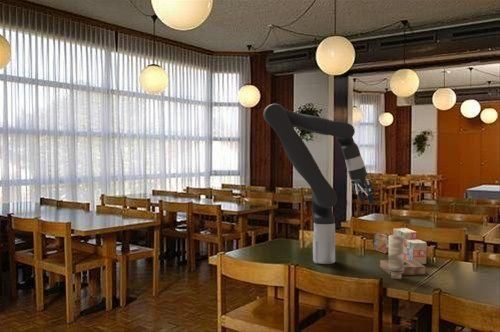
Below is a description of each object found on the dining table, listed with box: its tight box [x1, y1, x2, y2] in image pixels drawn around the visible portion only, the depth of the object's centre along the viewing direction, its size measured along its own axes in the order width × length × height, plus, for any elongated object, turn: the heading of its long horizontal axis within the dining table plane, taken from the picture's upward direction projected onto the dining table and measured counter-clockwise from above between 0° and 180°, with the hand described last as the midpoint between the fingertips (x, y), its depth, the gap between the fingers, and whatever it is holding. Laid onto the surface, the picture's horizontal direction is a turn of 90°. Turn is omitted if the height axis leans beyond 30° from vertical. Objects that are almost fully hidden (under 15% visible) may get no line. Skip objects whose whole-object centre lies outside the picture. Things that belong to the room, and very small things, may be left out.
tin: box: [372, 232, 389, 254], centre depth 227 cm, size 15×3×8 cm, turn 13°
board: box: [379, 259, 426, 276], centre depth 191 cm, size 14×12×3 cm
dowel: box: [388, 234, 405, 280], centre depth 180 cm, size 6×6×16 cm
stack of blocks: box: [392, 227, 428, 265], centre depth 212 cm, size 21×6×12 cm, turn 5°
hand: (367, 202), depth 206 cm, fingers open, 8 cm apart
